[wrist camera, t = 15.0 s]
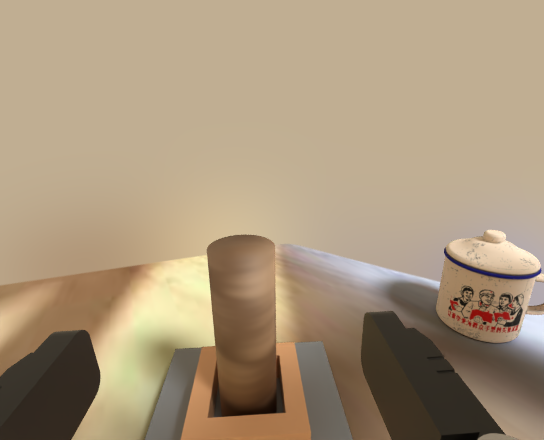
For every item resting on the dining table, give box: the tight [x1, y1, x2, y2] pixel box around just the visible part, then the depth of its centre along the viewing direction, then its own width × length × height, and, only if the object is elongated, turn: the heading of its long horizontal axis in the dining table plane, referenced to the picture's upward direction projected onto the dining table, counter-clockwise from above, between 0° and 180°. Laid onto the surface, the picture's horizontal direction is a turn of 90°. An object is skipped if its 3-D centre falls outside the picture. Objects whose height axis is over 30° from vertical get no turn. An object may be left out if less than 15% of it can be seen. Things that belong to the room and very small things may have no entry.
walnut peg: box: [207, 235, 277, 417], centre depth 22 cm, size 4×4×14 cm
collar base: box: [145, 341, 353, 440], centre depth 24 cm, size 15×14×4 cm
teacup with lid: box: [436, 230, 544, 343], centre depth 35 cm, size 12×9×12 cm
